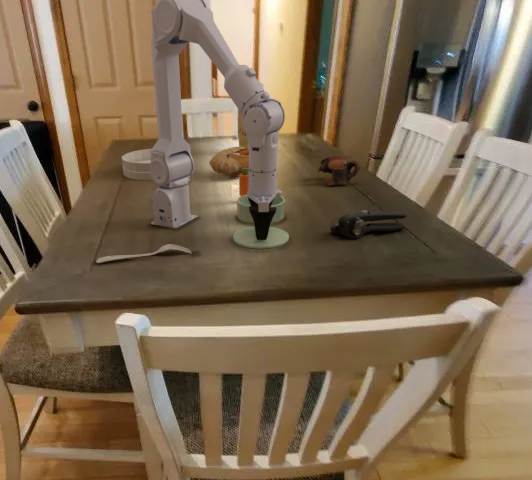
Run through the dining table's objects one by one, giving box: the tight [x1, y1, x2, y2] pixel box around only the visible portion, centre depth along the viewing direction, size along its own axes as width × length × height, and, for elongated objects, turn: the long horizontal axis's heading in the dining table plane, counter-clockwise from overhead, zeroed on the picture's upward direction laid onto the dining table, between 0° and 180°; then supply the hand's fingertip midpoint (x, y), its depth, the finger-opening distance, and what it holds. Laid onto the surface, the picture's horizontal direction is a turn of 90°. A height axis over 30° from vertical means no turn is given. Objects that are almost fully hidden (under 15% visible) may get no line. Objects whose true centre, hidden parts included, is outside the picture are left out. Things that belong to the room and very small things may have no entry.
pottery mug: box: [317, 155, 361, 187], centre depth 137 cm, size 12×10×8 cm
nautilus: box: [208, 146, 249, 178], centre depth 146 cm, size 8×22×15 cm
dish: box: [121, 148, 154, 181], centre depth 155 cm, size 22×22×5 cm
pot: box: [236, 194, 286, 225], centre depth 114 cm, size 12×12×4 cm
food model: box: [237, 108, 249, 148], centre depth 167 cm, size 10×7×20 cm
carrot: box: [238, 168, 249, 197], centre depth 122 cm, size 3×3×9 cm
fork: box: [96, 243, 192, 264], centre depth 98 cm, size 3×21×3 cm, turn 98°
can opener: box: [329, 209, 408, 240], centre depth 102 cm, size 18×7×6 cm, turn 106°
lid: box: [232, 226, 290, 250], centre depth 102 cm, size 12×12×4 cm
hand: (260, 234), depth 103 cm, fingers open, 5 cm apart
